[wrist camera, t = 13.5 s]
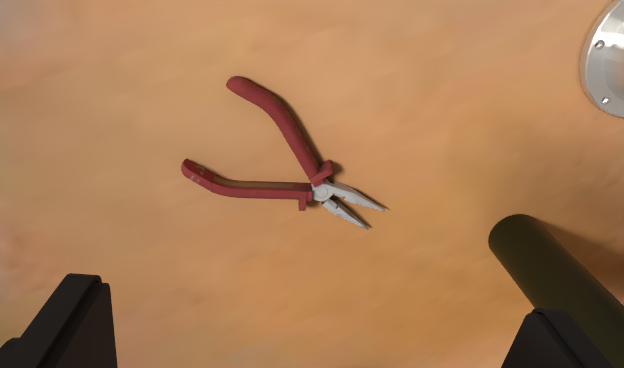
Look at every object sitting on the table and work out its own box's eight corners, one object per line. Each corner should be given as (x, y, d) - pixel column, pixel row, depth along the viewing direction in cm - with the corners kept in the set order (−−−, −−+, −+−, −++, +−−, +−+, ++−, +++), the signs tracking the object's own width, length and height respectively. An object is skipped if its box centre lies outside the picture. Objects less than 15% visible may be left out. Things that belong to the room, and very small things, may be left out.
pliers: (344, 251, 47) (347, 265, 45) (179, 166, 42) (173, 177, 39) (406, 172, 44) (413, 183, 41) (234, 67, 38) (231, 73, 35)
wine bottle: (533, 255, 49) (839, 598, 22) (484, 258, 48) (733, 608, 22) (543, 212, 46) (905, 541, 19) (492, 215, 46) (786, 553, 19)
